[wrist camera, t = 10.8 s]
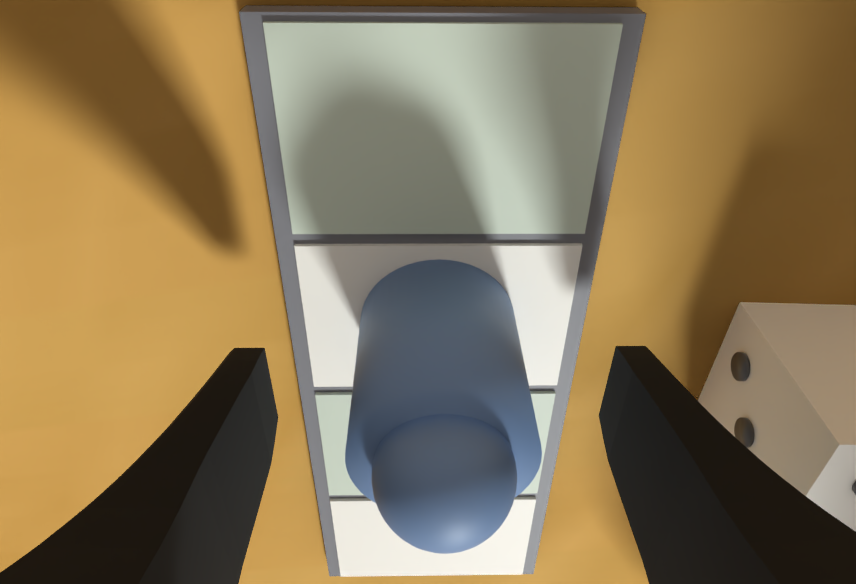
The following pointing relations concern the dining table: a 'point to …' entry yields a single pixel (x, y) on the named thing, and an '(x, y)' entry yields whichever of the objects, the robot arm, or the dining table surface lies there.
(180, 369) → the dining table surface
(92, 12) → the dining table surface
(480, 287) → the pawn
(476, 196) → the board
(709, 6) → the dining table surface
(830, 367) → the die
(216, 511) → the robot arm
